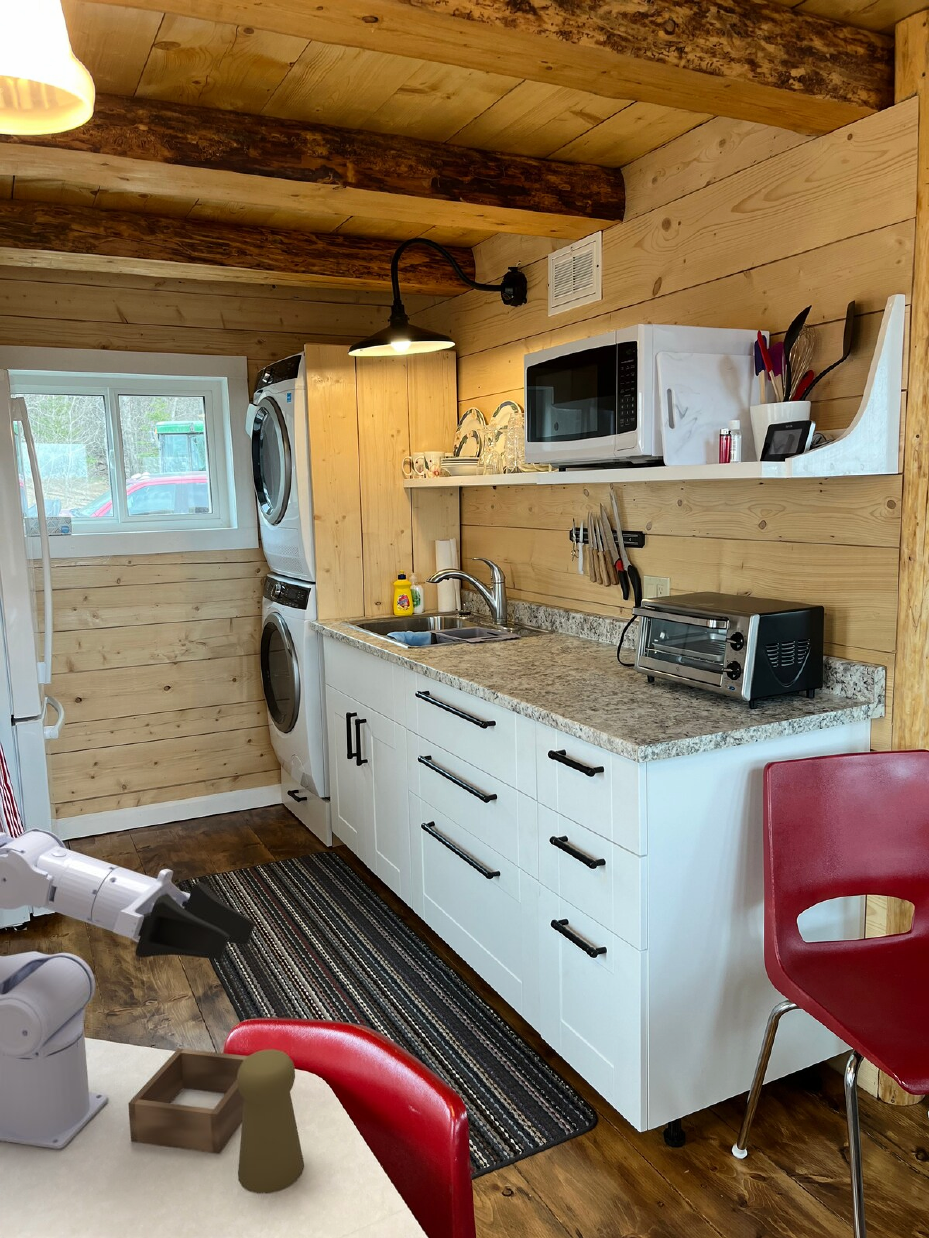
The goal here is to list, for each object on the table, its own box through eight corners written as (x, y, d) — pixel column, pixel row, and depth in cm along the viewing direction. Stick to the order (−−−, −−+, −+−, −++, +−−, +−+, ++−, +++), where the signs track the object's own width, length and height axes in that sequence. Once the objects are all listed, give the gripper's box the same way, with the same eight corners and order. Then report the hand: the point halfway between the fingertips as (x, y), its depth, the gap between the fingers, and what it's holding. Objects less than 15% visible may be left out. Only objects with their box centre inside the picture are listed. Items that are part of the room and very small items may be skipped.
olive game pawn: (289, 1197, 83) (283, 1081, 82) (226, 1188, 84) (219, 1074, 83) (313, 1151, 89) (308, 1042, 88) (254, 1144, 90) (248, 1036, 89)
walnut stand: (131, 1141, 91) (128, 1102, 91) (180, 1083, 100) (178, 1048, 100) (219, 1153, 89) (217, 1114, 89) (262, 1093, 98) (260, 1057, 98)
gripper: (87, 861, 84) (226, 908, 82) (153, 849, 98) (273, 889, 97) (59, 940, 83) (200, 989, 81) (130, 916, 97) (251, 957, 96)
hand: (238, 939), depth 89 cm, fingers open, 7 cm apart
